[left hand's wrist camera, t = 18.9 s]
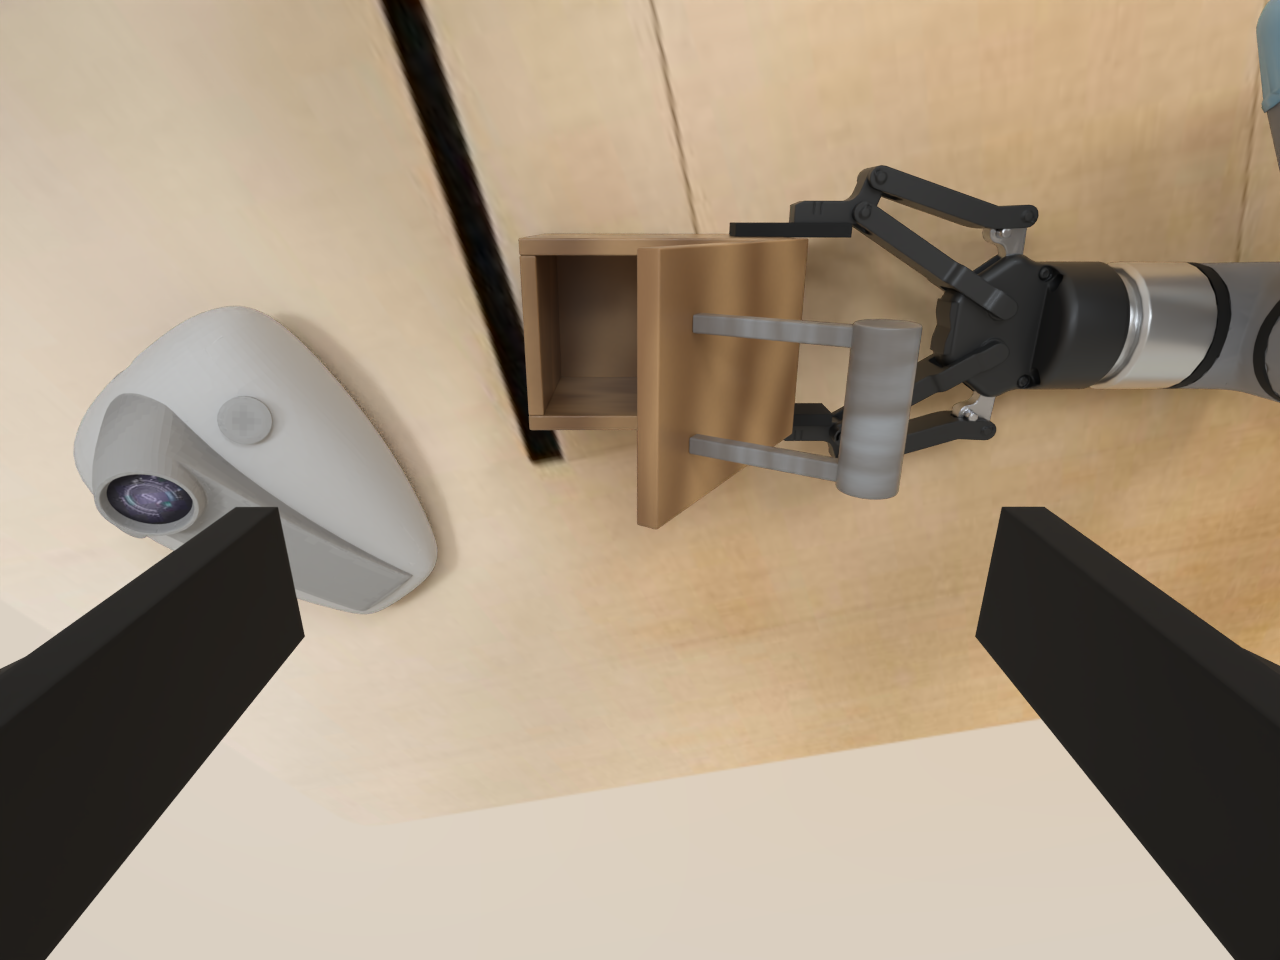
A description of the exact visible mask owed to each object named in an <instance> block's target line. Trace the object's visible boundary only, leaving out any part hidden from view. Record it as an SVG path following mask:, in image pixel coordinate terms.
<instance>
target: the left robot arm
mask: <svg viewBox="0 0 1280 960" xmlns="http://www.w3.org/2000/svg"><path fill="white" fill-rule="evenodd" d="M304 637H305V635H304V631H303V626H302V621H301V616H300V611H299V606H298V601H297V597H296V592H295V587H294V582H293V577H292V572H291V567H290V563H289V558H288V553H287V548H286V543H285V538H284V533H283V529H282V524H281V519H280V514H279V509H278V507H235V508H234V509H232V510H231V511H229V512H228V513H227V514H225V515H224V516H222V517H221V518H219V519H218V520H217V521H215V522H214V523H212V524H211V525H210V526H208V527H207V528H205V529H204V530H203V531H201V532H200V533H198V534H197V535H196V536H194V537H193V538H191V539H190V540H189V541H187V542H186V543H184V544H183V545H182V546H180V547H179V548H177V549H176V550H175V551H173V552H172V553H170V554H169V555H168V556H166V557H165V558H163V559H162V560H161V561H159V562H158V563H156V564H155V565H154V566H152V567H151V568H149V569H148V570H147V571H145V572H144V573H142V574H141V575H140V576H138V577H137V578H135V579H134V580H133V581H131V582H130V583H128V584H127V585H126V586H124V587H123V588H121V589H120V590H119V591H117V592H116V593H114V594H113V595H112V596H110V597H109V598H107V599H106V600H105V601H103V602H102V603H100V604H99V605H97V606H96V607H95V608H93V609H92V610H90V611H89V612H88V613H86V614H85V615H83V616H82V617H81V618H79V619H78V620H76V621H75V622H74V623H72V624H71V625H69V626H68V627H67V628H65V629H64V630H62V631H61V632H60V633H58V634H57V635H55V636H54V637H53V638H51V639H50V640H48V641H47V642H46V643H44V644H43V645H41V646H40V647H39V648H37V649H36V650H34V651H33V652H32V653H30V654H29V655H27V656H26V657H24V658H22V659H20V660H18V661H16V662H14V663H12V664H10V665H7V666H5V667H3V668H1V669H0V960H45V959H46V958H47V957H48V956H49V954H50V953H51V952H52V951H53V949H54V948H55V947H56V946H57V944H58V943H59V942H60V941H61V939H62V938H63V937H64V936H65V935H66V933H67V932H68V931H69V930H70V928H71V927H72V926H73V925H74V923H75V922H76V921H77V920H78V918H79V917H80V916H81V915H82V913H83V912H84V911H85V910H86V908H87V907H88V906H89V905H90V903H91V902H92V901H93V900H94V898H95V897H96V896H97V895H98V893H99V892H100V891H101V890H102V888H103V887H104V886H105V885H106V883H107V882H108V881H109V880H110V878H111V877H112V876H113V875H114V873H115V872H116V871H117V870H118V869H119V867H120V866H121V865H122V864H123V862H124V861H125V860H126V859H127V857H128V856H129V855H130V854H131V852H132V851H133V850H134V849H135V847H136V846H137V845H138V844H139V842H140V841H141V840H142V839H143V837H144V836H145V835H146V834H147V832H148V831H149V830H150V829H151V827H152V826H153V825H154V824H155V822H156V821H157V820H158V819H159V817H160V816H161V815H162V814H163V812H164V811H165V810H166V809H167V807H168V806H169V805H170V804H171V802H172V801H173V800H174V799H175V797H176V796H177V795H178V794H179V792H180V791H181V790H182V789H183V788H184V786H185V785H186V784H187V783H188V781H189V780H190V779H191V777H192V776H193V775H194V774H195V773H196V771H197V770H198V769H199V768H200V766H201V765H202V764H203V763H204V761H205V760H206V759H207V758H208V756H209V755H210V754H211V753H212V751H213V750H214V749H215V748H216V746H217V745H218V744H219V743H220V741H221V740H222V739H223V738H224V736H225V735H226V734H227V733H228V731H229V730H230V729H231V728H232V726H233V725H234V724H235V723H236V721H237V720H238V719H239V718H240V716H241V715H242V714H243V713H244V711H245V710H246V709H247V708H248V707H249V705H250V704H251V703H252V702H253V700H254V699H255V698H256V697H257V695H258V694H259V693H260V692H261V690H262V689H263V688H264V687H265V685H266V684H267V683H268V682H269V680H270V679H271V678H272V677H273V675H274V674H275V673H276V672H277V670H278V669H279V668H280V667H281V665H282V664H283V663H284V662H285V660H286V659H287V658H288V657H289V655H290V654H291V653H292V652H293V650H294V649H295V648H296V647H297V645H298V644H299V643H300V642H301V640H302V639H303V638H304ZM975 637H976V638H977V639H978V640H979V642H980V643H981V644H982V645H983V647H984V648H985V649H986V650H987V652H988V653H989V654H990V655H991V657H992V658H993V659H994V660H995V662H996V663H997V664H998V665H999V667H1000V668H1001V669H1002V670H1003V672H1004V673H1005V674H1006V675H1007V677H1008V678H1009V679H1010V680H1011V682H1012V683H1013V684H1014V685H1015V687H1016V688H1017V689H1018V690H1019V692H1020V693H1021V694H1022V695H1023V697H1024V698H1025V699H1026V700H1027V702H1028V703H1029V704H1030V705H1031V707H1032V708H1033V709H1034V710H1035V711H1036V713H1037V714H1038V715H1039V716H1040V718H1041V719H1042V720H1043V721H1044V723H1045V724H1046V725H1047V726H1048V728H1049V729H1050V730H1051V731H1052V733H1053V734H1054V735H1055V736H1056V738H1057V739H1058V740H1059V741H1060V743H1061V744H1062V745H1063V746H1064V748H1065V749H1066V750H1067V751H1068V753H1069V754H1070V755H1071V756H1072V758H1073V759H1074V760H1075V761H1076V763H1077V764H1078V765H1079V766H1080V768H1081V769H1082V770H1083V771H1084V773H1085V774H1086V775H1087V776H1088V778H1089V779H1090V780H1091V781H1092V782H1093V784H1094V785H1095V786H1096V787H1097V789H1098V790H1099V791H1100V792H1101V794H1102V795H1103V796H1104V797H1105V799H1106V800H1107V801H1108V802H1109V804H1110V805H1111V806H1112V807H1113V809H1114V810H1115V811H1116V812H1117V814H1118V815H1119V816H1120V817H1121V819H1122V820H1123V821H1124V822H1125V824H1126V825H1127V826H1128V827H1129V829H1130V830H1131V831H1132V832H1133V834H1134V835H1135V836H1136V837H1137V839H1138V840H1139V841H1140V842H1141V844H1142V845H1143V846H1144V847H1145V849H1146V850H1147V851H1148V852H1149V854H1150V855H1151V856H1152V857H1153V859H1154V860H1155V861H1156V862H1157V863H1158V865H1159V866H1160V867H1161V869H1162V870H1163V871H1164V872H1165V873H1166V875H1167V876H1168V877H1169V878H1170V880H1171V881H1172V882H1173V883H1174V885H1175V886H1176V887H1177V888H1178V890H1179V891H1180V892H1181V893H1182V895H1183V896H1184V897H1185V898H1186V900H1187V901H1188V902H1189V903H1190V905H1191V906H1192V907H1193V908H1194V910H1195V911H1196V912H1197V913H1198V915H1199V916H1200V917H1201V918H1202V920H1203V921H1204V922H1205V923H1206V925H1207V926H1208V927H1209V928H1210V930H1211V931H1212V932H1213V933H1214V935H1215V936H1216V937H1217V938H1218V940H1219V941H1220V942H1221V943H1222V945H1223V946H1224V947H1225V948H1226V950H1227V951H1228V952H1229V953H1230V954H1231V956H1232V957H1233V958H1234V959H1235V960H1280V666H1279V665H1277V664H1275V663H1273V662H1271V661H1269V660H1266V659H1264V658H1262V657H1260V656H1258V655H1256V654H1254V653H1252V652H1250V651H1248V650H1246V649H1243V648H1241V647H1240V646H1239V645H1237V644H1236V643H1234V642H1233V641H1232V640H1230V639H1229V638H1227V637H1226V636H1225V635H1223V634H1222V633H1220V632H1219V631H1218V630H1216V629H1215V628H1213V627H1212V626H1211V625H1209V624H1208V623H1206V622H1205V621H1204V620H1202V619H1201V618H1199V617H1198V616H1197V615H1195V614H1194V613H1192V612H1191V611H1190V610H1188V609H1187V608H1185V607H1184V606H1183V605H1181V604H1180V603H1178V602H1177V601H1175V600H1174V599H1173V598H1171V597H1170V596H1168V595H1167V594H1166V593H1164V592H1163V591H1161V590H1160V589H1159V588H1157V587H1156V586H1154V585H1153V584H1152V583H1150V582H1149V581H1147V580H1146V579H1145V578H1143V577H1142V576H1140V575H1139V574H1138V573H1136V572H1135V571H1133V570H1132V569H1131V568H1129V567H1128V566H1126V565H1125V564H1124V563H1122V562H1121V561H1119V560H1118V559H1117V558H1115V557H1114V556H1112V555H1111V554H1110V553H1108V552H1107V551H1105V550H1104V549H1103V548H1101V547H1100V546H1098V545H1097V544H1096V543H1094V542H1093V541H1091V540H1090V539H1089V538H1087V537H1086V536H1084V535H1083V534H1082V533H1080V532H1079V531H1077V530H1076V529H1075V528H1073V527H1072V526H1070V525H1069V524H1068V523H1066V522H1065V521H1063V520H1062V519H1061V518H1059V517H1058V516H1056V515H1055V514H1053V513H1052V512H1051V511H1049V510H1048V509H1046V508H1045V507H1002V509H1001V514H1000V519H999V524H998V529H997V533H996V538H995V543H994V548H993V553H992V558H991V563H990V567H989V572H988V577H987V582H986V587H985V592H984V597H983V601H982V606H981V611H980V616H979V621H978V626H977V631H976V635H975Z"/></svg>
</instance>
